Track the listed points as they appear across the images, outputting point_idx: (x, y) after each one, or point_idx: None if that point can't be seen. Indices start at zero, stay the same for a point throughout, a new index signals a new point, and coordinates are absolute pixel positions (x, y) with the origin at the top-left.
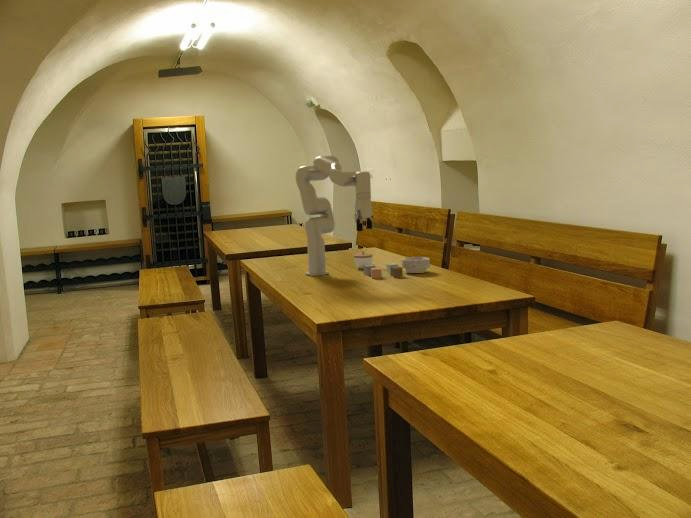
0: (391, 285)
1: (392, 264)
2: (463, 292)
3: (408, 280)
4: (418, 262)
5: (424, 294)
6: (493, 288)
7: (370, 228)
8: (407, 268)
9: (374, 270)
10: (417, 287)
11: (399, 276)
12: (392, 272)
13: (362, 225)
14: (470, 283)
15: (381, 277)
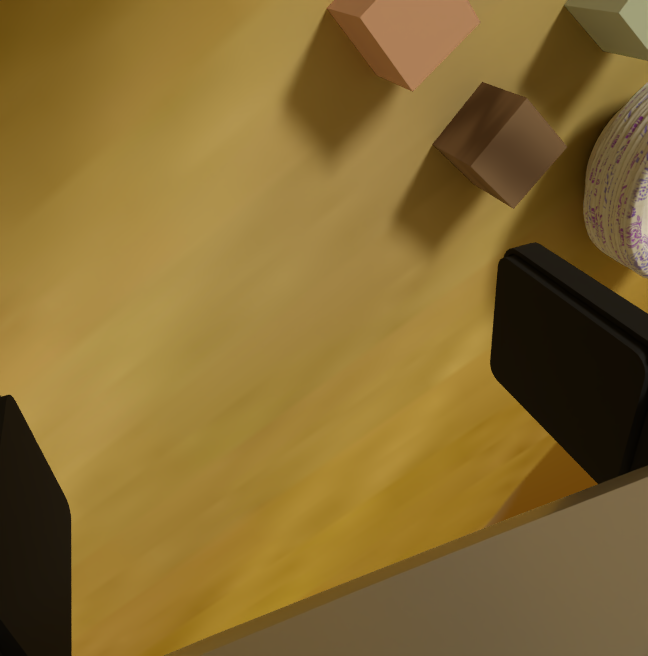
0: (177, 329)
1: (644, 21)
2: None
3: (378, 297)
4: (625, 260)
5: (87, 598)
6: None
7: (493, 359)
8: (589, 170)
9: (369, 37)
10: (219, 468)
11: (463, 172)
12: (469, 130)
13: (60, 650)
14: (423, 537)
15: (379, 75)
